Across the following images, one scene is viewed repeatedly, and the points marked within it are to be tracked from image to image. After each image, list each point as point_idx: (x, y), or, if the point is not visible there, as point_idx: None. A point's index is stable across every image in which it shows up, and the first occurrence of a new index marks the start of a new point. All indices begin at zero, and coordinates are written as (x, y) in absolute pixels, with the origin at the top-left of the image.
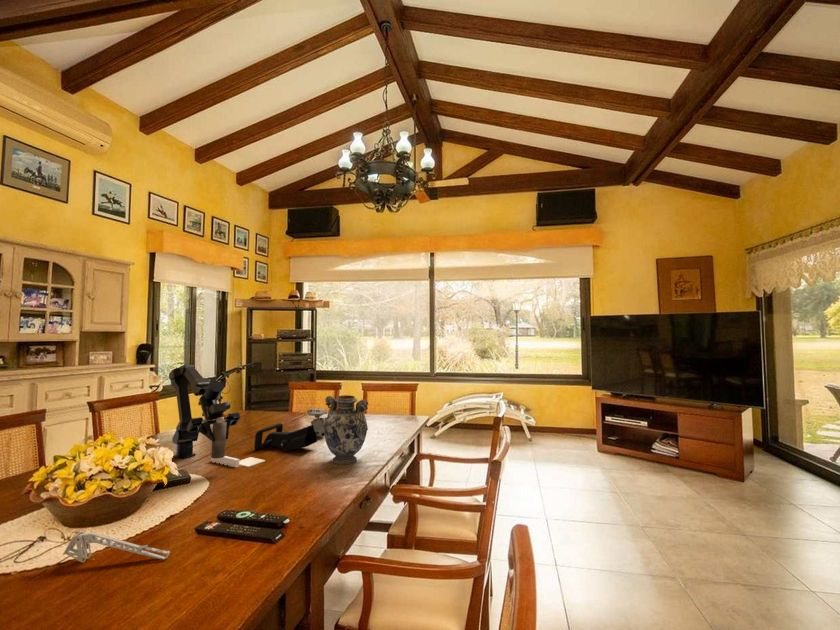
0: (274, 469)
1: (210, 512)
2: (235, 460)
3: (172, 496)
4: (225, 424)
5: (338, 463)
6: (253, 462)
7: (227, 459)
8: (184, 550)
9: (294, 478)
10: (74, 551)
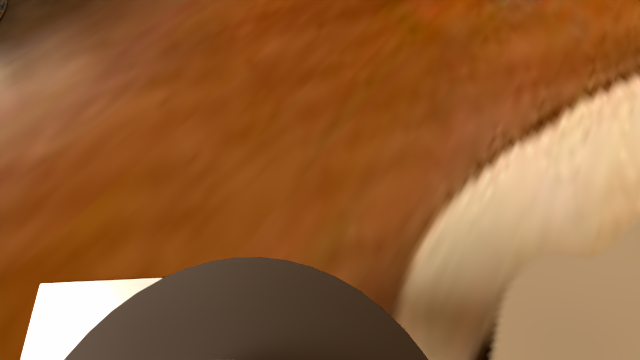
0: (143, 148)
1: (552, 9)
2: None
3: (615, 231)
4: (199, 271)
5: (4, 3)
6: (96, 311)
7: None
8: None
9: (201, 22)
10: None
